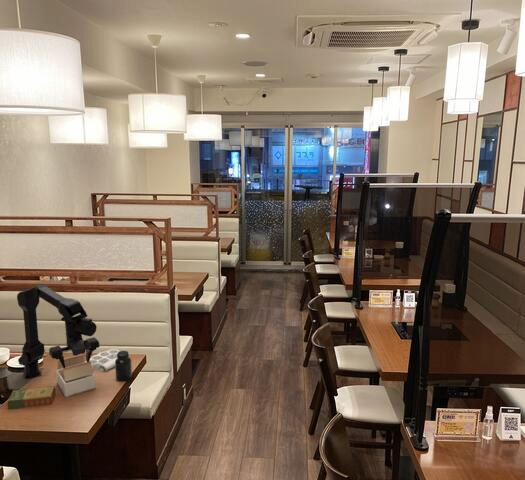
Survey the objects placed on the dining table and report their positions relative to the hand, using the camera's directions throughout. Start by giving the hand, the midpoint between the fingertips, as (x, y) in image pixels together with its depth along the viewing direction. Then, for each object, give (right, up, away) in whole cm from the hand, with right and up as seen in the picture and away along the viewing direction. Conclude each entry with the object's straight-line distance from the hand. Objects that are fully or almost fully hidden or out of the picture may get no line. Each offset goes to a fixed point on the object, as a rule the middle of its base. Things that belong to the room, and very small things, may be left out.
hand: (76, 366), depth 197 cm
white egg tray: (+4, -6, +25) cm, 26 cm away
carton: (-15, -12, -7) cm, 21 cm away
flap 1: (-5, 0, +6) cm, 8 cm away
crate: (-2, -9, +4) cm, 10 cm away
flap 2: (+1, -1, -2) cm, 3 cm away
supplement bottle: (+17, -8, +11) cm, 22 cm away
